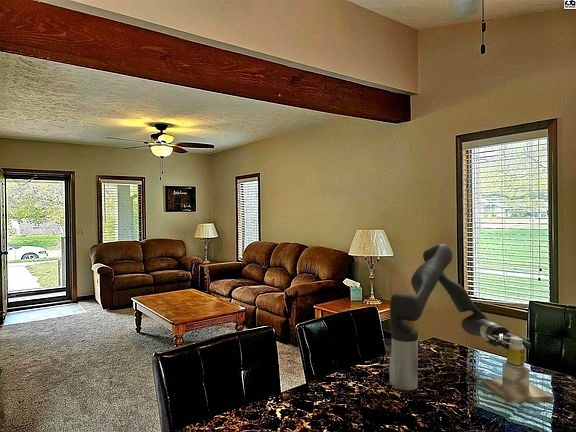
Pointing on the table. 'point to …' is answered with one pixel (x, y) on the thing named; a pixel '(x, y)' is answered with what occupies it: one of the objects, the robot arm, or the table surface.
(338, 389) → the table surface
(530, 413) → the table surface
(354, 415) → the table surface
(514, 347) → the supplement bottle
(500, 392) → the pedestal
